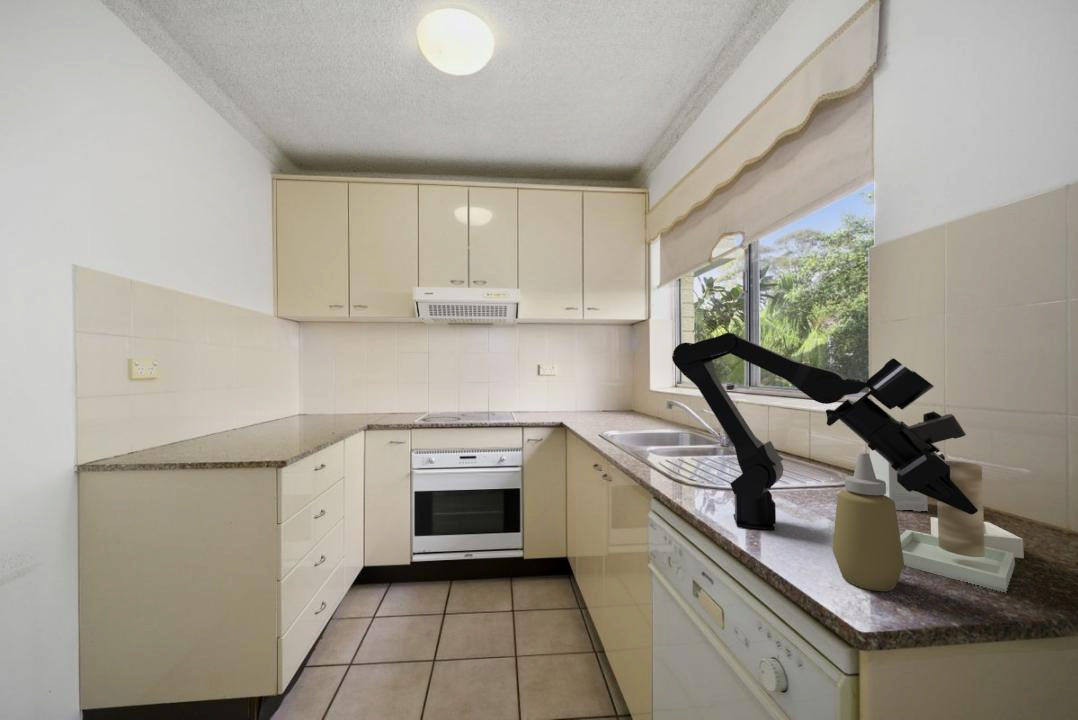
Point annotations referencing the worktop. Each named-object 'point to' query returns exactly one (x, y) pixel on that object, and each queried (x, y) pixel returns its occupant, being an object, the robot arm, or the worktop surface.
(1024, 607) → the worktop surface
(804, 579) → the worktop surface
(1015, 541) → the socket block
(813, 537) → the worktop surface
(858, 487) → the squeeze bottle
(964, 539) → the maple dowel
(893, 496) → the supplement box
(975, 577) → the sage tray
